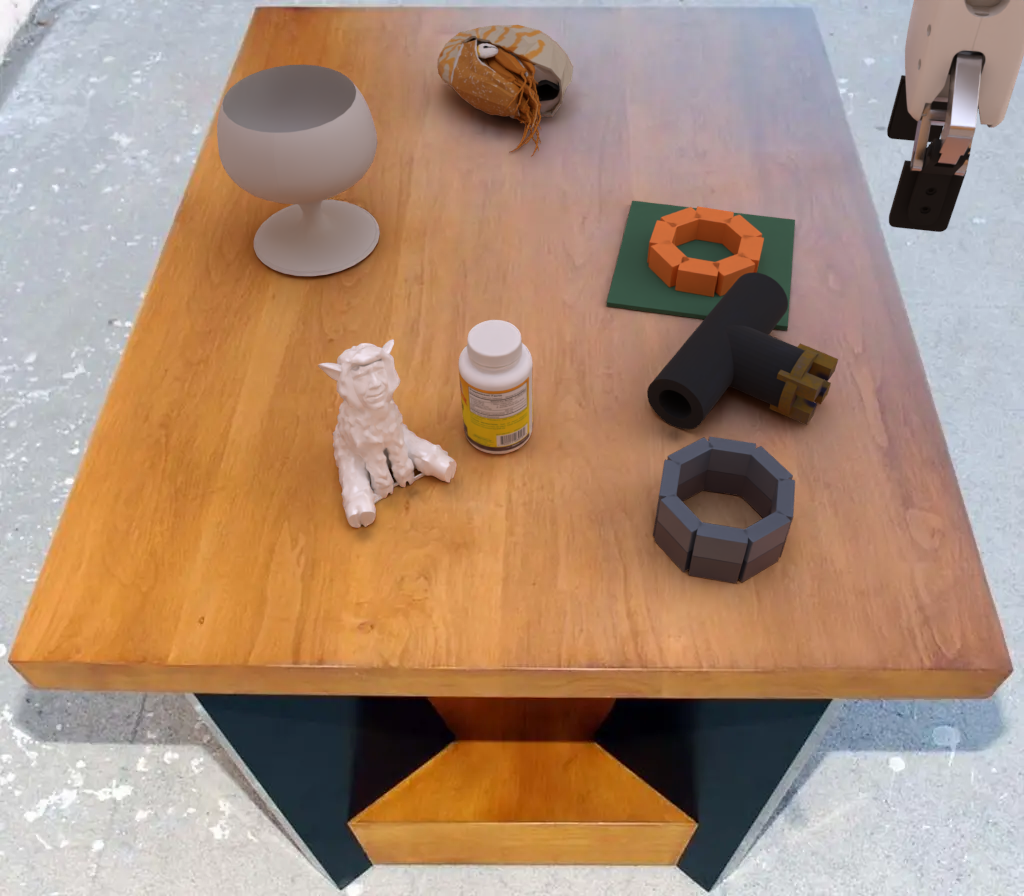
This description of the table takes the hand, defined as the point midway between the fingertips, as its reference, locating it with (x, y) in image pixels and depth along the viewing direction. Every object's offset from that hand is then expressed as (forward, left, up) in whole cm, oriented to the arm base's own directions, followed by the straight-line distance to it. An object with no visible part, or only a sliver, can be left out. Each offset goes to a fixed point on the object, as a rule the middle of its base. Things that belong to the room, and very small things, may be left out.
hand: (914, 180), depth 61 cm
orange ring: (+12, -21, -24) cm, 34 cm away
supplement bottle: (+26, +4, -24) cm, 36 cm away
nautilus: (+36, -43, -24) cm, 61 cm away
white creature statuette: (+34, +10, -24) cm, 43 cm away
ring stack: (+8, +10, -24) cm, 27 cm away
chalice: (+49, -17, -24) cm, 57 cm away
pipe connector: (+6, -5, -24) cm, 26 cm away
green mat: (+12, -21, -24) cm, 34 cm away
